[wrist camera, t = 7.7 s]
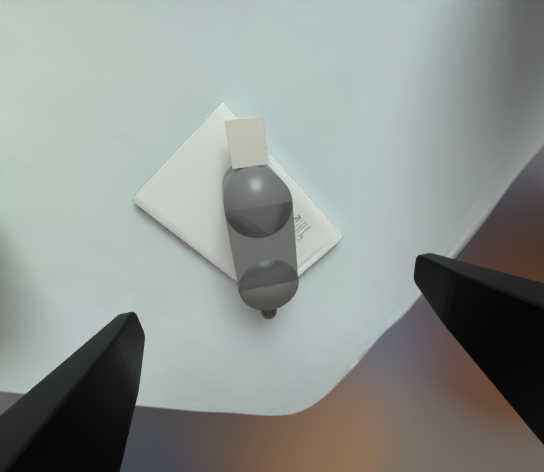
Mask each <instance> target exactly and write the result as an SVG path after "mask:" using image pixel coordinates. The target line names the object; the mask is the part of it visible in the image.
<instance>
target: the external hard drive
mask: <svg viewBox="0 0 544 472" xmlns="http://www.w3.org/2000/svg"><path fill="white" fill-rule="evenodd" d="M232 119H237V118H236V117H235V116H234V115H233V113H232V112H231V111H230V110H229V109H228V108H227V107H226V106H225V105H224V104H223V103H221V104H220V105H219V106H218V107H217V108H216V109H215V110H214V111H213V112H212V113H211V114H210V116H209V117H208V118H207V119H206V120H205V121H204V122H203V123H202V124H201V125H200V126H199V127H198V128H197V129H196V131H195V132H194V133H193V134H192V135H191V136H190V137H189V138H188V139H187V140H186V141H185V142H184V143H183V144H182V145H181V146H180V148H179V149H178V150H177V151H176V152H175V153H174V154H173V155H172V156H171V157H170V158H169V159H168V160H167V161H166V162H165V164H164V165H163V166H162V167H161V168H160V169H159V170H158V171H157V172H156V173H155V174H154V175H153V176H152V177H151V178H150V179H149V181H148V182H147V183H146V184H145V185H144V186H143V187H142V188H141V189H140V190H139V191H138V192H137V193H136V194H135V195H134V196H133V198H131V201H132V202H134V203H135V204H136V205H138V206H139V207H140V208H142V209H143V210H144V211H145V212H147V213H148V214H149V215H151V216H152V217H153V218H154V219H156V220H157V221H158V222H160V223H161V224H162V225H164V226H165V227H166V228H167V229H169V230H170V231H171V232H173V233H174V234H175V235H177V236H178V237H179V238H180V239H182V240H183V241H184V242H186V243H187V244H188V245H190V246H191V247H192V248H193V249H195V250H196V251H197V252H199V253H200V254H201V255H203V256H204V257H205V258H206V259H208V260H209V261H210V262H211V263H213V264H214V265H215V266H217V267H218V268H219V269H221V270H222V271H223V272H225V273H226V274H227V275H228V276H230V277H231V278H232V279H234V280H235V281H236V282H237V277H236V272H235V266H234V261H233V256H232V250H231V245H230V239H229V234H228V229H227V223H226V218H225V212H224V203H223V192H222V182H223V178H224V175H225V173H226V172H227V170H228V169H229V168H230V167H231V166H232V165H231V158H230V152H229V146H228V140H227V134H226V127H225V121H224V120H232ZM268 158H269V164H267V165H268V166H270V167H271V169H272V170H273V171H274V172H275V173H276V174H277V175H278V176H279V177H280V178H281V179H282V181H283V182H284V183H285V184H286V185H287V187H288V188H289V190H290V192H291V196H292V201H293V214H294V228H295V241H296V255H297V268H298V277H299V276H300V275H301V274H302V273H303V272H305V271H306V270H307V269H308V268H309V267H310V266H311V265H313V264H314V263H315V262H316V261H317V260H318V259H320V258H321V257H322V256H323V255H324V254H325V253H326V252H328V251H329V250H330V249H331V248H332V247H333V246H335V245H336V244H337V243H338V242H339V241H340V240H341V238H342V235H341V234H340V233H339V232H338V231H337V229H336V228H335V227H334V226H333V225H332V224H331V223H330V222H329V220H328V219H327V218H326V217H325V216H324V215H323V214H322V213H321V212H320V210H319V209H318V208H317V207H316V206H315V205H314V204H313V203H312V201H311V200H310V199H309V198H308V197H307V196H306V195H305V193H304V192H303V191H302V190H301V189H300V188H299V187H298V186H297V185H296V183H295V182H294V181H293V180H292V179H291V178H290V177H289V176H288V175H287V173H286V172H285V171H284V170H283V169H282V168H281V167H280V166H279V165H278V163H277V162H276V161H275V160H274V159H273V158H272V157H271V156H270V154H269V153H268Z"/></svg>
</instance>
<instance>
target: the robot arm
mask: <svg viewBox="0 0 544 472" xmlns="http://www.w3.org/2000/svg"><path fill="white" fill-rule="evenodd" d="M414 281H415V283H416V285H417V286H418V288H419V289H420V291H421V292H422V294H423V295H424V297H425V298H426V300H427V301H428V302H429V304H430V306H431V307H432V309H433V310H434V311H435V313H436V314H437V316H438V317H439V319H440V320H441V321H442V323H443V324H444V325H445V326H446V328H447V329H448V330H449V331H450V333H451V334H452V335H453V336H454V337H455V339H456V340H457V341H458V342H459V343H460V345H461V346H462V347H463V348H464V349H465V351H466V352H467V353H468V354H469V355H470V357H471V358H472V359H473V360H474V362H475V363H476V364H477V365H478V366H479V367H480V369H481V370H482V371H483V372H484V373H485V375H486V376H487V377H488V378H489V380H490V381H491V382H492V383H493V384H494V386H495V387H496V388H497V389H498V390H499V392H500V393H501V394H502V395H503V396H504V398H505V399H506V400H507V401H508V403H509V404H510V405H511V406H512V407H513V409H515V411H516V412H517V413H518V415H519V416H520V417H521V418H522V419H523V421H524V422H525V423H526V424H527V425H528V427H529V428H530V429H531V430H532V432H533V433H534V434H535V435H536V436H537V438H538V439H539V440H540V441H541V442H542V443H543V445H544V283H542V282H538V281H534V280H530V279H527V278H522V277H519V276H515V275H511V274H507V273H504V272H499V271H496V270H493V269H489V268H485V267H481V266H477V265H474V264H470V263H466V262H462V261H459V260H455V259H451V258H447V257H444V256H440V255H436V254H432V253H427V254H422V255H419V256H417V258H416V262H415V270H414ZM144 342H145V335H144V331H143V329H142V326H141V324H140V322H139V319H138V317H137V315H136V313H134V312H128V313H123V314H120V315H118V316H117V317H116V318H114V319H113V320H112V321H111V322H110V323H109V324H107V325H106V326H105V327H104V328H103V329H102V330H100V331H99V332H98V333H97V334H96V335H94V336H93V337H92V338H91V339H90V340H89V341H87V342H86V343H85V344H84V345H83V346H82V347H80V348H79V349H78V350H77V351H76V352H74V353H73V354H72V355H71V356H70V357H69V358H67V359H66V360H65V361H64V362H63V363H62V364H60V365H59V366H58V367H57V368H56V369H55V370H53V371H52V372H51V373H50V374H49V375H47V376H46V377H45V378H44V379H43V380H42V381H40V382H39V383H38V384H37V385H36V386H35V387H33V388H32V389H31V390H30V391H29V392H28V393H26V394H25V395H24V396H23V397H22V398H21V399H19V400H18V401H17V402H16V403H15V404H14V405H12V406H11V407H10V408H9V409H8V410H6V411H5V412H4V413H3V414H2V415H1V416H0V472H120V468H121V464H122V460H123V455H124V451H125V447H126V443H127V438H128V434H129V430H130V425H131V421H132V417H133V413H134V408H135V404H136V400H137V395H138V390H139V384H140V376H141V368H142V359H143V351H144Z"/></svg>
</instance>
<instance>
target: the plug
mask: <svg viewBox="0 0 544 472" xmlns="http://www.w3.org/2000/svg"><path fill="white" fill-rule="evenodd" d="M224 121H225V127H226V134H227V140H228V146H229V152H230V158H231V165H232V166H231V167H230V168H229V169H228V170H227V172H226V173H225V175H224V178H223V182H222V192H223V203H224V212H225V218H226V223H227V229H228V234H229V239H230V245H231V250H232V256H233V261H234V266H235V272H236V277H237V283H238V288H239V293H240V296H241V298H242V300H243V301H244V302H245V303H246V304H247V305H249V306H250V307H252V308H254V309H258V310H261V314H262V316H263V317H264V318H266V319H271V318H273V317H274V316H275V315H276V313H277V308H279V307H281V306H283V305H285V304H286V303H287V302H289V301H290V300H291V299H292V297H293V296H294V295H295V293H296V291H297V288H298V268H297V255H296V241H295V228H294V214H293V201H292V196H291V192H290V190H289V188H288V187H287V185H286V184H285V183H284V182H283V181H282V179H281V178H280V177H279V176H278V175H277V174H276V173H275V172H274V171H273V170H272V169H271V167H270V166H268V165H267V164H269V158H268V149H267V139H266V130H265V120H264V116H257V117H249V118H240V119H232V120H224Z"/></svg>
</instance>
